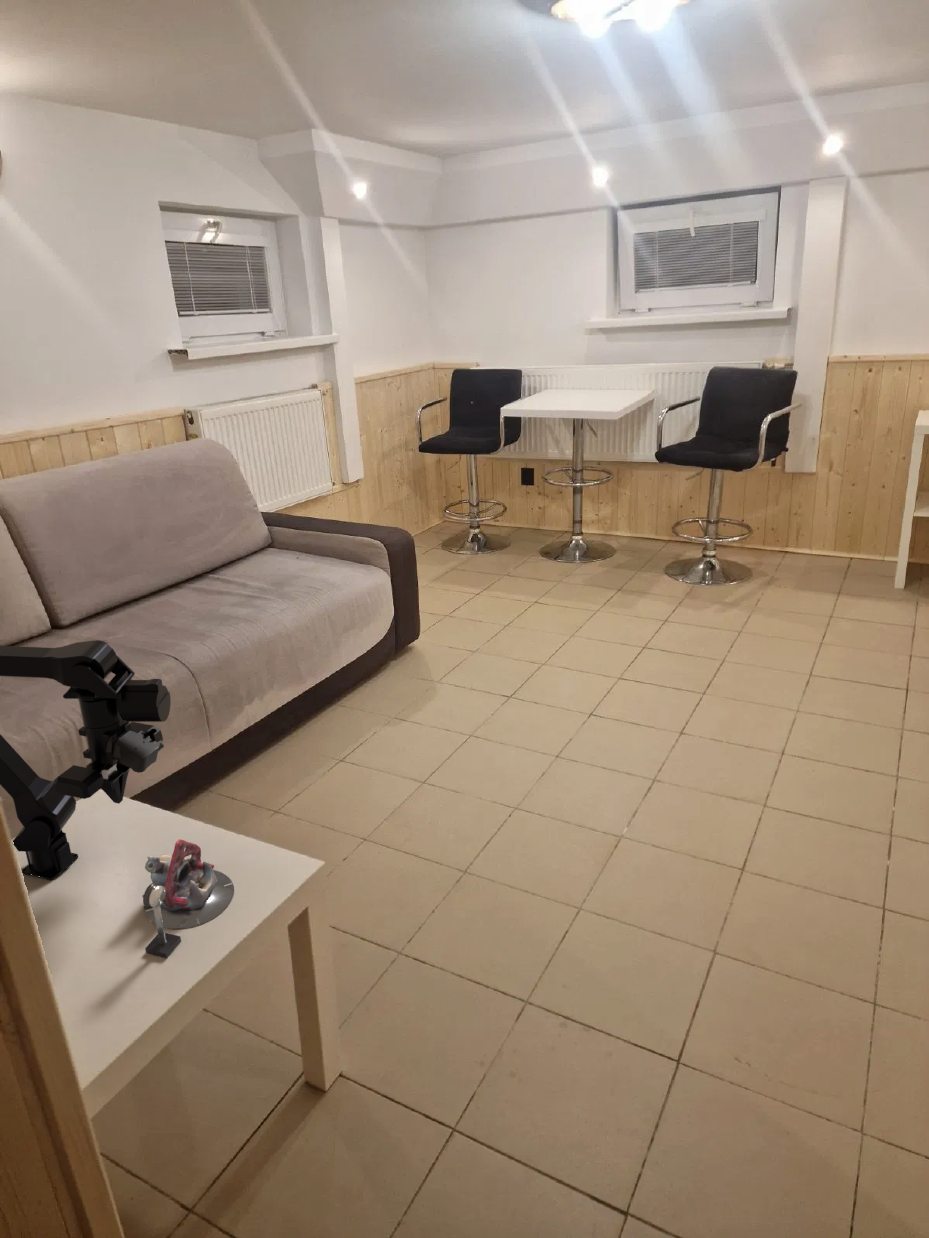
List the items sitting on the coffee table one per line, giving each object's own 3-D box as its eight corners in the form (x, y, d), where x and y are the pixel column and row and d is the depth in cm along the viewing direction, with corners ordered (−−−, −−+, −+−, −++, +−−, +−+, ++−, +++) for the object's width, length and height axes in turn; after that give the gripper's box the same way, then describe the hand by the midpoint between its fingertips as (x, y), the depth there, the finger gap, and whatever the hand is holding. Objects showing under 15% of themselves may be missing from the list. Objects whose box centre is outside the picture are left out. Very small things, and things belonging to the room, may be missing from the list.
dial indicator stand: (146, 953, 123) (134, 892, 119) (160, 936, 126) (150, 876, 122) (166, 958, 122) (155, 897, 118) (181, 941, 125) (171, 880, 121)
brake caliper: (208, 913, 127) (155, 858, 125) (161, 939, 131) (110, 886, 128) (239, 866, 137) (191, 813, 135) (195, 891, 141) (148, 841, 139)
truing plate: (125, 918, 130) (125, 917, 130) (178, 862, 142) (178, 861, 142) (203, 937, 126) (202, 936, 126) (250, 878, 138) (250, 877, 138)
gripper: (105, 757, 120) (122, 845, 126) (181, 699, 137) (193, 779, 143) (43, 746, 123) (62, 832, 129) (124, 690, 140) (138, 769, 146)
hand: (118, 801), depth 136 cm, fingers closed
